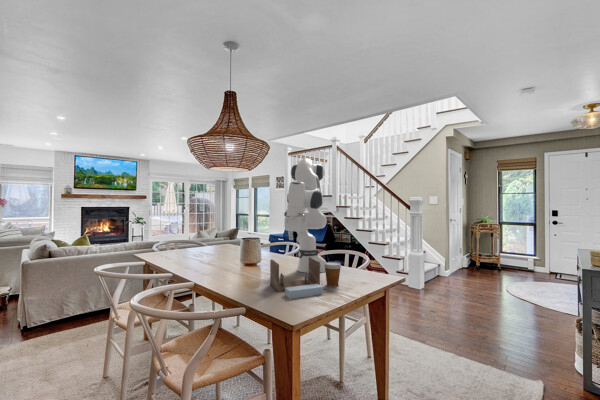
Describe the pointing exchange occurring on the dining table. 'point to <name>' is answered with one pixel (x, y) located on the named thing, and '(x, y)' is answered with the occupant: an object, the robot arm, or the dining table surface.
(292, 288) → the shelf board
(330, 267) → the disposable coffee cup
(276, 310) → the dining table surface
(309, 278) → the shelf rack
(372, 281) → the dining table surface
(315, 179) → the robot arm
